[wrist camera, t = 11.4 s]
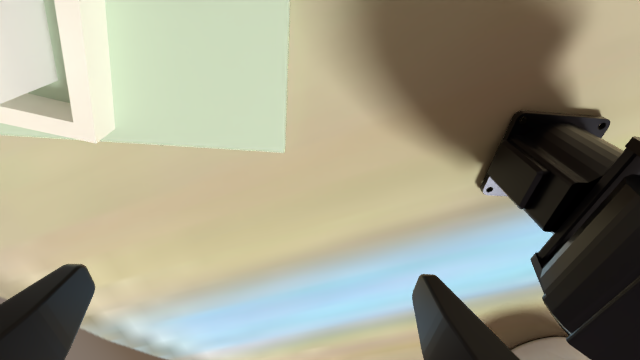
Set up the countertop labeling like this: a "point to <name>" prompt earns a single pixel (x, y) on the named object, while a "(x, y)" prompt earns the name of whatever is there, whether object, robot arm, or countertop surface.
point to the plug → (24, 48)
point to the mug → (548, 350)
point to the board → (190, 73)
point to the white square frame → (74, 79)
